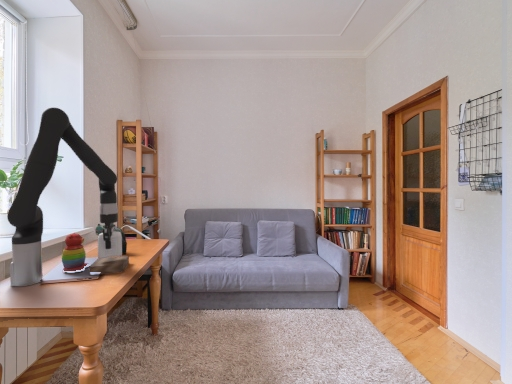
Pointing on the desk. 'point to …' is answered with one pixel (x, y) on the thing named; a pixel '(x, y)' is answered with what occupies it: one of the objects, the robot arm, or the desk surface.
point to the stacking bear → (73, 253)
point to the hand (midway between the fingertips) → (109, 247)
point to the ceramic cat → (124, 244)
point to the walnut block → (110, 265)
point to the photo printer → (115, 246)
